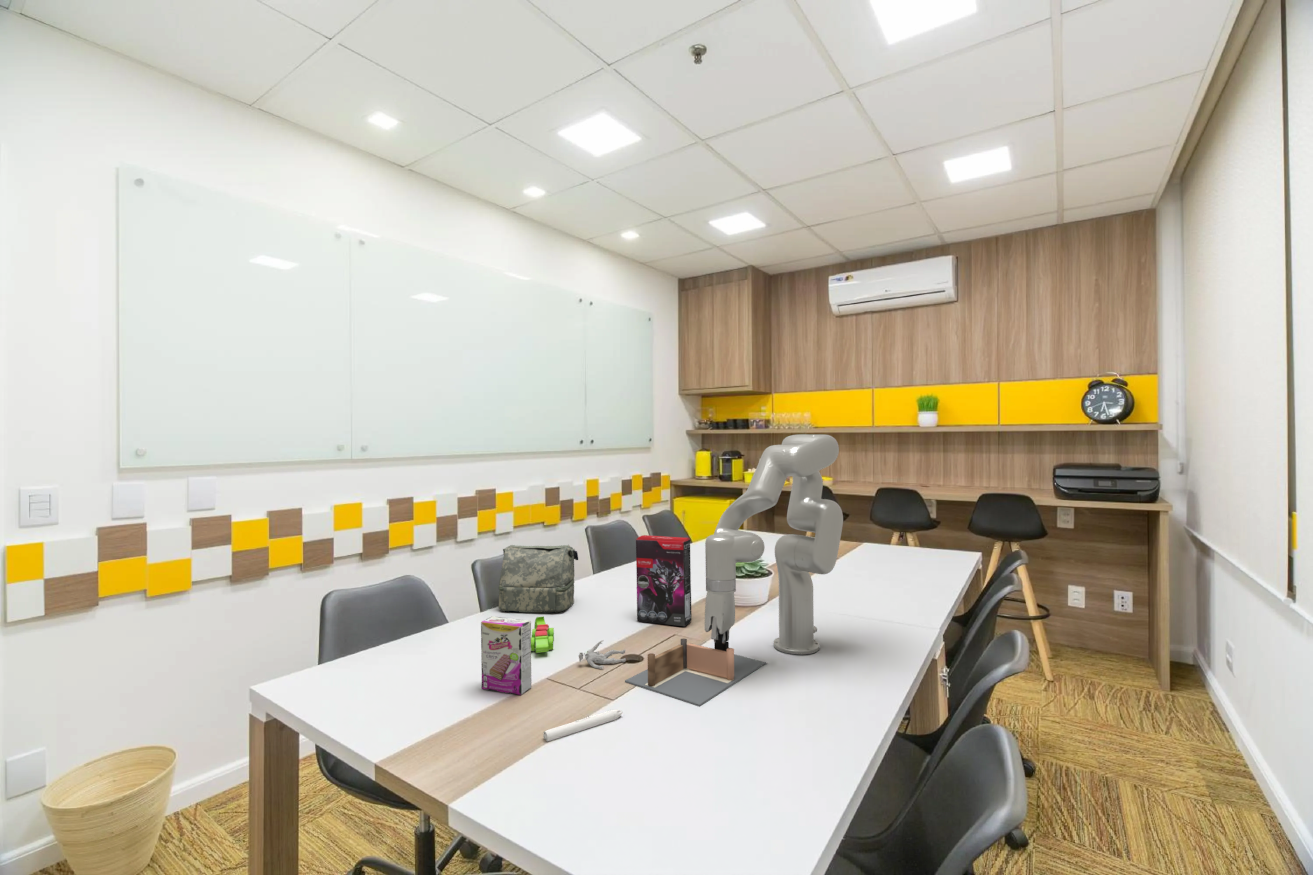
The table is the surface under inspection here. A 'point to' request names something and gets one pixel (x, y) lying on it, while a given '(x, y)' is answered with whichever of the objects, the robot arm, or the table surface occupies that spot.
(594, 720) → the marker
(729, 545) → the robot arm
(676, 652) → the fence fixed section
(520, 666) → the candy bar box
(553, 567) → the lunch bag
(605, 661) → the soldier figure
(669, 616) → the graphics card box
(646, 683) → the mat
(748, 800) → the table surface
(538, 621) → the toy crocodile
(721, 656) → the fence swing section
